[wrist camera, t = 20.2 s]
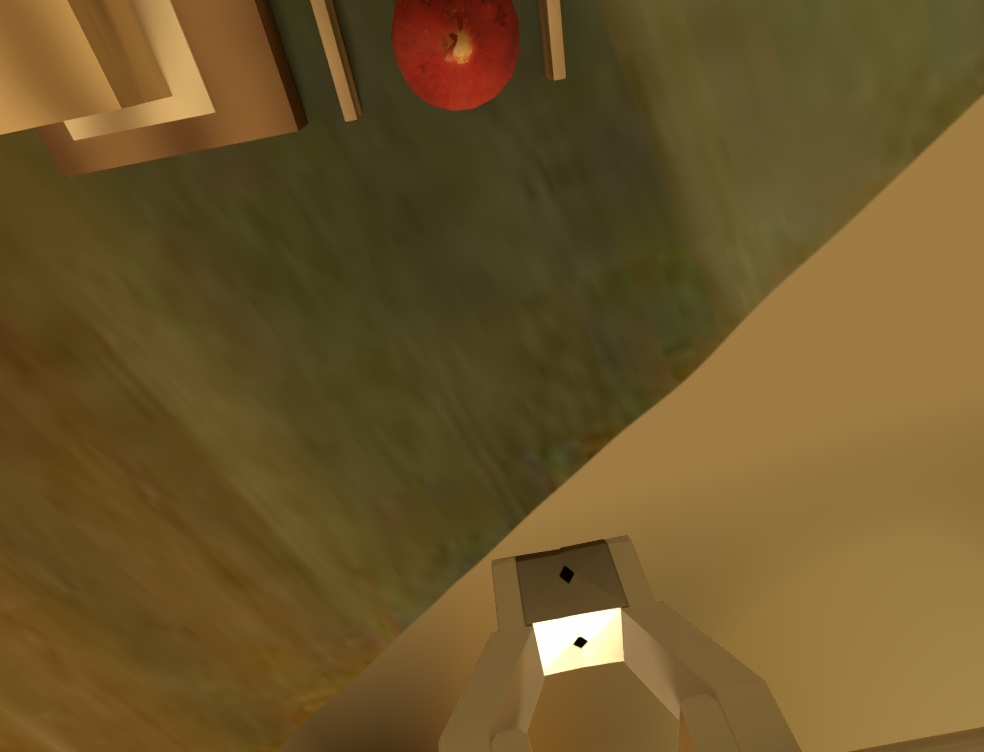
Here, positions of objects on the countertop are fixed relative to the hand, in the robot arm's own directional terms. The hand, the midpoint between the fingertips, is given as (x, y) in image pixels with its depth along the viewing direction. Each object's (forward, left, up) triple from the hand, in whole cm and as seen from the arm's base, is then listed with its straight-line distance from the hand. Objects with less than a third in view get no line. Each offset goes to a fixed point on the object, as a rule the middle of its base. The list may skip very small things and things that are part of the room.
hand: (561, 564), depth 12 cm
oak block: (-16, +12, -22) cm, 30 cm away
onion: (0, +10, -25) cm, 27 cm away
